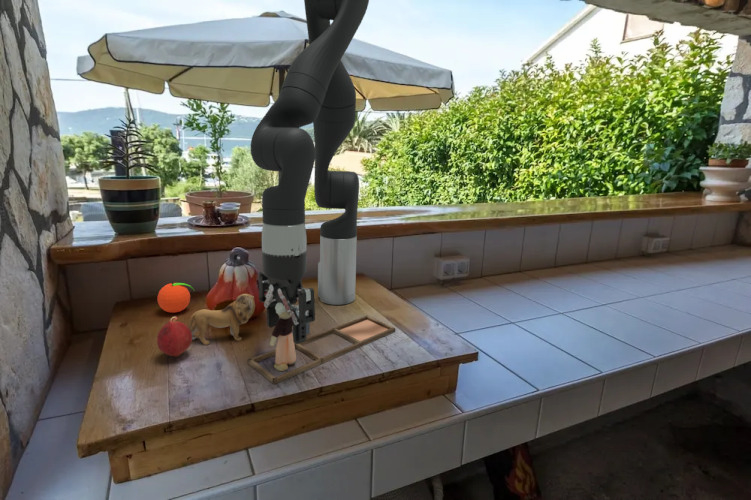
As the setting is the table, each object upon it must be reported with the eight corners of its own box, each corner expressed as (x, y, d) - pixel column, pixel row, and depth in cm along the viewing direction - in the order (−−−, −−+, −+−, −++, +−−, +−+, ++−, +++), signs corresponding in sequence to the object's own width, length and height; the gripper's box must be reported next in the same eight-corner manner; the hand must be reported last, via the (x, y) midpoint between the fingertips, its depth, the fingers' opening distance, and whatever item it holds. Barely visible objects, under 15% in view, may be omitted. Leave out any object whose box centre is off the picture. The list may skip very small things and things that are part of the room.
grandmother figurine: (287, 375, 72) (286, 309, 69) (267, 372, 73) (265, 306, 70) (303, 354, 80) (303, 293, 76) (285, 351, 80) (283, 291, 77)
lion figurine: (253, 327, 90) (252, 289, 88) (259, 337, 86) (257, 297, 83) (179, 340, 83) (176, 298, 81) (181, 351, 79) (177, 308, 77)
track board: (248, 363, 76) (247, 359, 75) (366, 318, 97) (367, 315, 97) (274, 384, 70) (274, 380, 69) (395, 331, 91) (395, 328, 91)
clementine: (194, 303, 102) (192, 276, 100) (197, 314, 96) (195, 285, 94) (158, 308, 98) (155, 280, 96) (159, 319, 92) (156, 289, 90)
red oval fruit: (170, 368, 73) (166, 327, 71) (152, 358, 76) (148, 318, 74) (199, 354, 78) (196, 315, 76) (181, 346, 81) (177, 308, 79)
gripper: (243, 242, 73) (247, 326, 77) (289, 260, 63) (290, 355, 67) (280, 237, 78) (282, 316, 82) (327, 253, 68) (326, 341, 73)
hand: (286, 333), depth 75 cm, fingers open, 8 cm apart
